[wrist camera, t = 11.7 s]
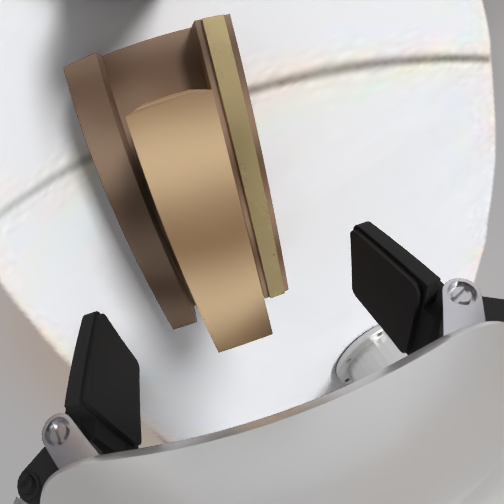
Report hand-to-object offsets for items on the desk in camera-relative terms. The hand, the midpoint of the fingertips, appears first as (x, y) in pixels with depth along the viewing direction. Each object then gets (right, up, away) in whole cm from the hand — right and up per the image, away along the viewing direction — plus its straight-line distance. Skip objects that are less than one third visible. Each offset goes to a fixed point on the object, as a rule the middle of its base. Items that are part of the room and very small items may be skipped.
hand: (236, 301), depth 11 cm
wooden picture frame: (-3, +6, +9) cm, 11 cm away
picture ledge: (-4, +7, +11) cm, 13 cm away
